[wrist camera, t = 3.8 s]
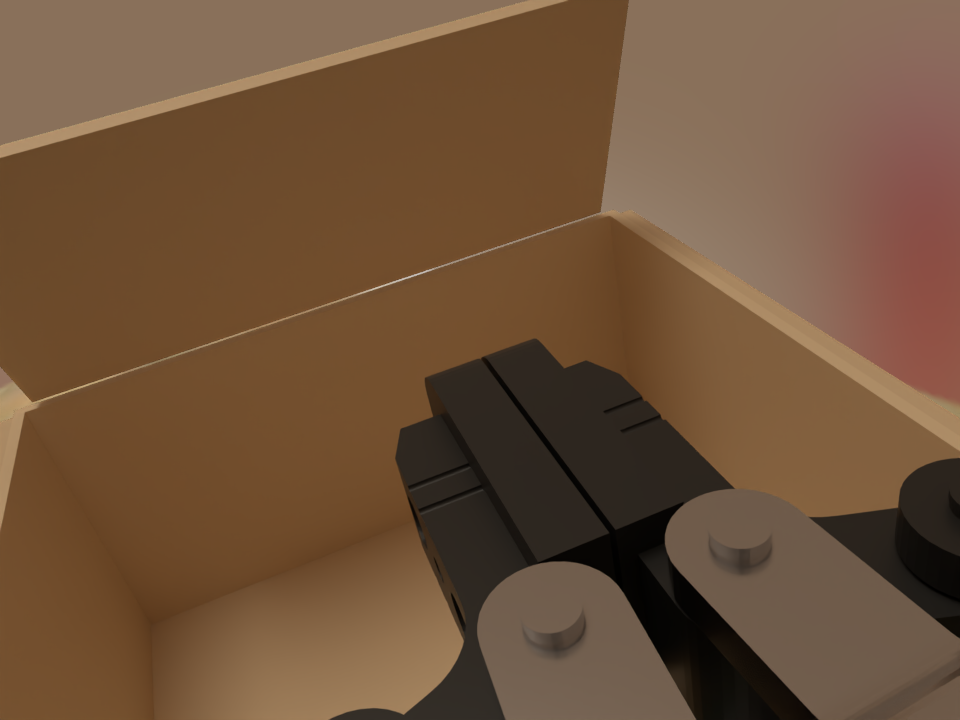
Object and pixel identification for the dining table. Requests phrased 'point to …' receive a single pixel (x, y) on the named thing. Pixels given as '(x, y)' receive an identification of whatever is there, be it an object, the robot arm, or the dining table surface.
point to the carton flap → (299, 187)
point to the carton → (381, 474)
